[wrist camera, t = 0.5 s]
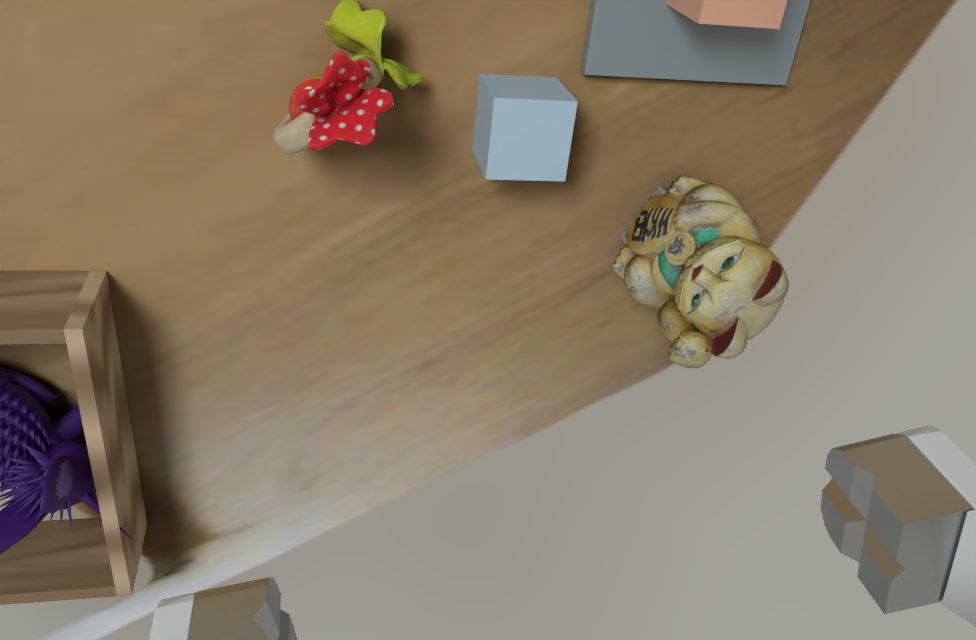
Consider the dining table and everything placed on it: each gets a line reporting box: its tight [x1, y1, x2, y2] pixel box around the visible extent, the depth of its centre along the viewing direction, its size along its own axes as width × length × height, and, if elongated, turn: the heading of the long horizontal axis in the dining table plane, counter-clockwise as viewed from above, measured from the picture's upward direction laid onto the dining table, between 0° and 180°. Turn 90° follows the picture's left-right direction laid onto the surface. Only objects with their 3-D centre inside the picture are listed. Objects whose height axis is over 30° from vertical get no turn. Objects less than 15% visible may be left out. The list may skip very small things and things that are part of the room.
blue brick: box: [473, 74, 578, 181], centre depth 51 cm, size 5×5×5 cm
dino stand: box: [0, 271, 147, 605], centre depth 56 cm, size 23×14×7 cm, turn 174°
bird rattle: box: [273, 0, 424, 155], centre depth 46 cm, size 6×11×9 cm
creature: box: [0, 367, 131, 554], centre depth 53 cm, size 9×18×12 cm, turn 47°
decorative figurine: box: [612, 176, 789, 368], centre depth 54 cm, size 10×8×15 cm
